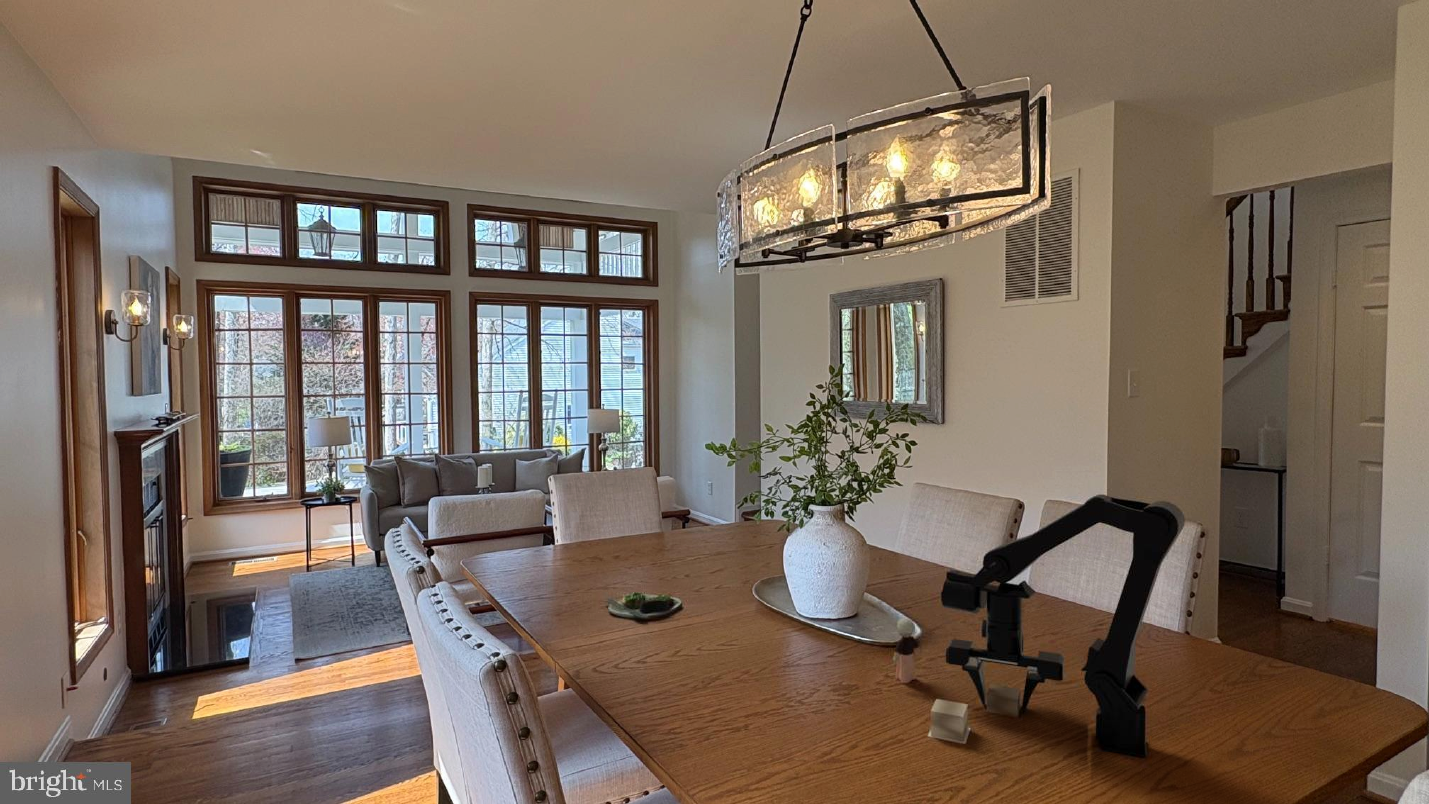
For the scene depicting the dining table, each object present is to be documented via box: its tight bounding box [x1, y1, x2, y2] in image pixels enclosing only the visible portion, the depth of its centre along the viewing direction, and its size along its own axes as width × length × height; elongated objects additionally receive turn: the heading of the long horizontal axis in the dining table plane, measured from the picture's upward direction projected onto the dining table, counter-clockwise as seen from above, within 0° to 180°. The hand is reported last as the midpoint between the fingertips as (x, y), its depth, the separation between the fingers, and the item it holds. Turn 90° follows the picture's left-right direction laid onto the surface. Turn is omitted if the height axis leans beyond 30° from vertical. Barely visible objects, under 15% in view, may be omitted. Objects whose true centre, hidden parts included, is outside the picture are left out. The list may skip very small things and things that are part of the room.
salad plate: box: [604, 591, 683, 621], centre depth 193 cm, size 19×18×5 cm
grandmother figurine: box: [892, 617, 921, 684], centre depth 145 cm, size 8×4×13 cm, turn 141°
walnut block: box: [986, 683, 1022, 718], centre depth 132 cm, size 5×5×4 cm
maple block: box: [930, 698, 969, 742], centre depth 124 cm, size 5×5×4 cm
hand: (1003, 707), depth 132 cm, fingers open, 6 cm apart
